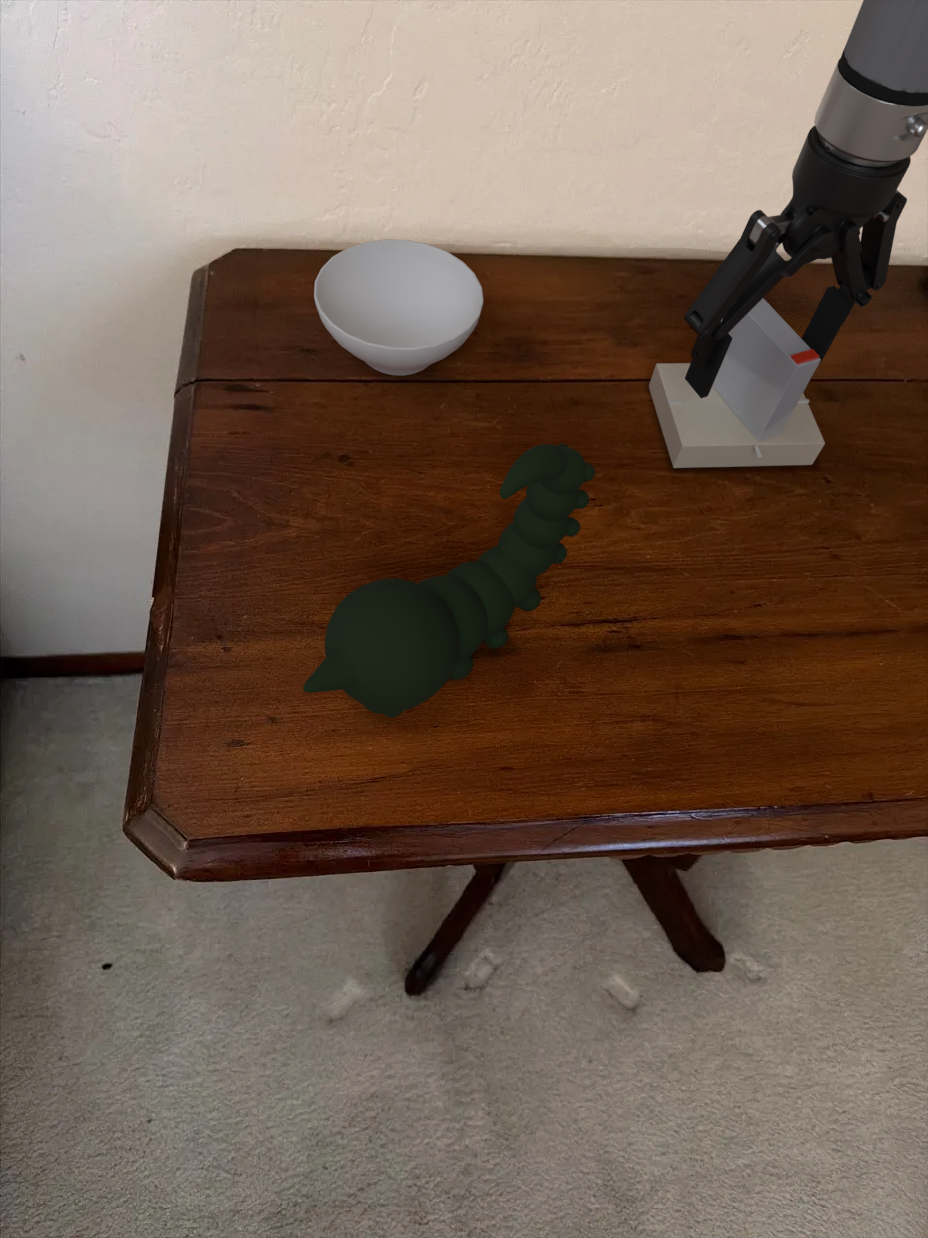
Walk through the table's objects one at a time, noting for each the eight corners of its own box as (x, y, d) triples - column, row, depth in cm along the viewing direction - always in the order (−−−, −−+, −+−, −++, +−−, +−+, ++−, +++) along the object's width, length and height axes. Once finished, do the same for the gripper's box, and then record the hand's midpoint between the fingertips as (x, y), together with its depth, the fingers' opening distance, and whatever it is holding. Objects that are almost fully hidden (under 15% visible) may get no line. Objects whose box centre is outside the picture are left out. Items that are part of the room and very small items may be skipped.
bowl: (309, 302, 91) (305, 242, 86) (460, 294, 94) (465, 235, 88) (327, 413, 83) (323, 354, 77) (491, 400, 86) (499, 343, 80)
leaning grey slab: (699, 370, 86) (731, 291, 79) (721, 364, 87) (755, 285, 79) (758, 441, 82) (798, 364, 74) (780, 434, 83) (822, 357, 75)
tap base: (775, 373, 92) (787, 349, 89) (818, 477, 84) (832, 454, 82) (643, 374, 90) (652, 350, 87) (676, 481, 83) (686, 458, 80)
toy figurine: (497, 552, 78) (264, 704, 66) (545, 383, 63) (254, 540, 51) (573, 621, 75) (343, 794, 63) (643, 461, 60) (358, 647, 48)
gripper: (755, 200, 58) (665, 432, 76) (1021, 140, 65) (881, 365, 83) (693, 139, 61) (621, 375, 79) (953, 88, 68) (832, 315, 87)
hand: (754, 370), depth 81 cm, fingers open, 12 cm apart
